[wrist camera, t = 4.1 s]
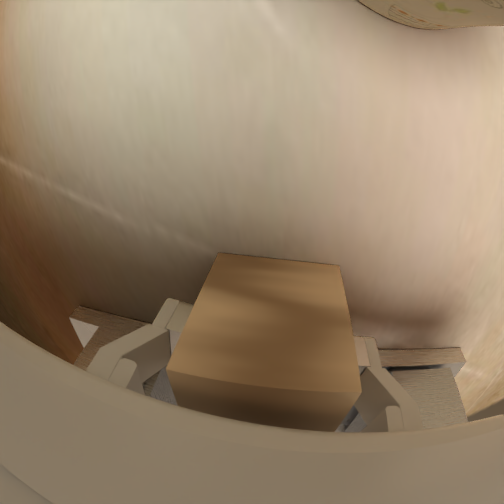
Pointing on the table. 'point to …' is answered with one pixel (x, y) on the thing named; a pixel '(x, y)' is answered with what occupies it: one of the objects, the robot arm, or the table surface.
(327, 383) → the block
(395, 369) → the vise base
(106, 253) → the table surface
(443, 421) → the block
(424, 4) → the mug
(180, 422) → the robot arm
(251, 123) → the table surface
